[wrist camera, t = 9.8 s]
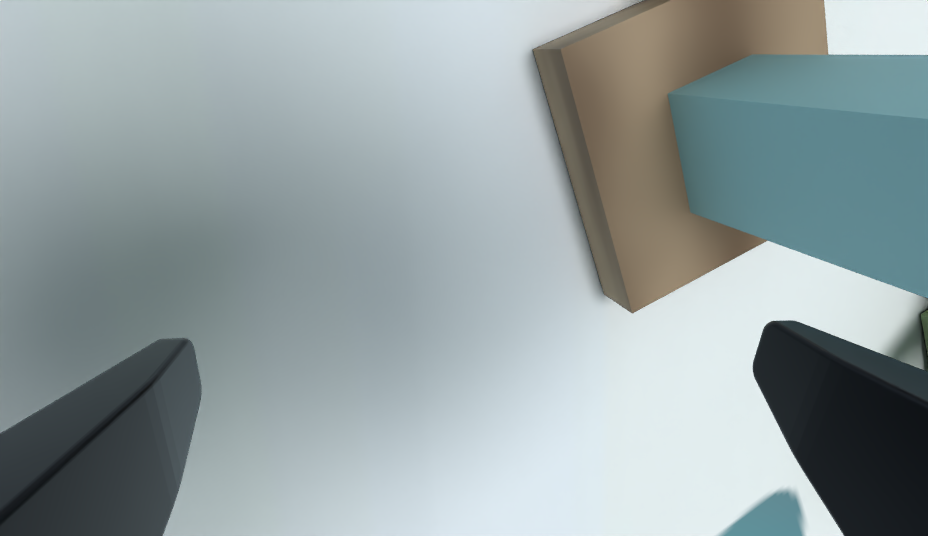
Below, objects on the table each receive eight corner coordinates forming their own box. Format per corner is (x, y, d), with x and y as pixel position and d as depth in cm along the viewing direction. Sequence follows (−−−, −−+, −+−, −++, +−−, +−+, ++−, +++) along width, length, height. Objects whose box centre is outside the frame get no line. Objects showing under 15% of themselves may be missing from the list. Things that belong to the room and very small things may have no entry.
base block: (604, 294, 24) (632, 313, 22) (532, 49, 20) (560, 48, 18) (798, 191, 26) (839, 201, 24) (771, -56, 22) (818, -66, 20)
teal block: (690, 212, 22) (1022, 332, 12) (667, 93, 20) (1039, 129, 11) (767, 173, 22) (1139, 260, 13) (752, 54, 20) (1175, 55, 11)
